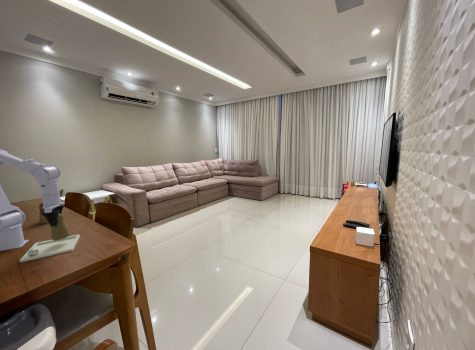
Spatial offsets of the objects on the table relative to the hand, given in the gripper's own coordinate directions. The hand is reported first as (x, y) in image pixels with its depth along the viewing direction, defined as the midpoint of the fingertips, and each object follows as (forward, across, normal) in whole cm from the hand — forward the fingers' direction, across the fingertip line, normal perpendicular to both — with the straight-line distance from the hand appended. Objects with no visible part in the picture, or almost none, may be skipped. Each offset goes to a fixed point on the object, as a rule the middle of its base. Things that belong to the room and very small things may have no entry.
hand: (55, 223), depth 89 cm
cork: (+7, 0, -1) cm, 7 cm away
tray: (+10, -3, +1) cm, 11 cm away
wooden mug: (+11, +46, +12) cm, 48 cm away
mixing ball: (+10, -8, +6) cm, 14 cm away
